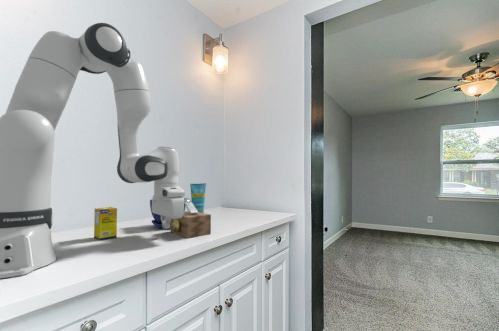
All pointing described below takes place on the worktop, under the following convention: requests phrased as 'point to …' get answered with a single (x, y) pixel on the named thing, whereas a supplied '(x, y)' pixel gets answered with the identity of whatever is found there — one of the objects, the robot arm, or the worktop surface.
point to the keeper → (190, 206)
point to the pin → (176, 225)
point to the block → (194, 225)
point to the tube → (198, 196)
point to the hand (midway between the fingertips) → (165, 228)
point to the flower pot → (158, 218)
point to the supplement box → (105, 223)
